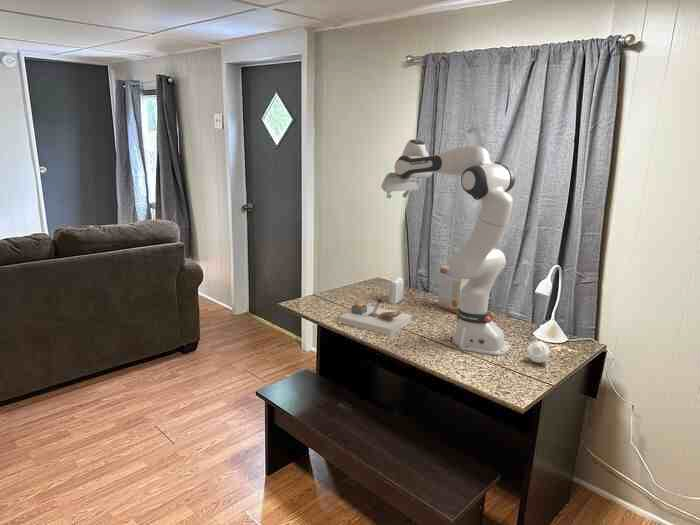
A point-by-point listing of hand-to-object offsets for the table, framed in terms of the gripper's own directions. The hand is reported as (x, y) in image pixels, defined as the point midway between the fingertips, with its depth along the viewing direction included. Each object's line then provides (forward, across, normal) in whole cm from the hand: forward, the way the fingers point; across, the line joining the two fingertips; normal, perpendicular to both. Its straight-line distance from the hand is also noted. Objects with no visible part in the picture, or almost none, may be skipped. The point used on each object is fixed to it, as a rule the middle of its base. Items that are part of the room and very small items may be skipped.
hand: (396, 197), depth 230 cm
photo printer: (+47, +3, -25) cm, 53 cm away
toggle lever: (+35, -23, -38) cm, 57 cm away
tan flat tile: (+31, -19, -44) cm, 58 cm away
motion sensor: (+10, +10, -96) cm, 97 cm away
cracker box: (+37, +20, -44) cm, 61 cm away
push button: (+37, -26, -32) cm, 56 cm away
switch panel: (+38, -22, -41) cm, 61 cm away
